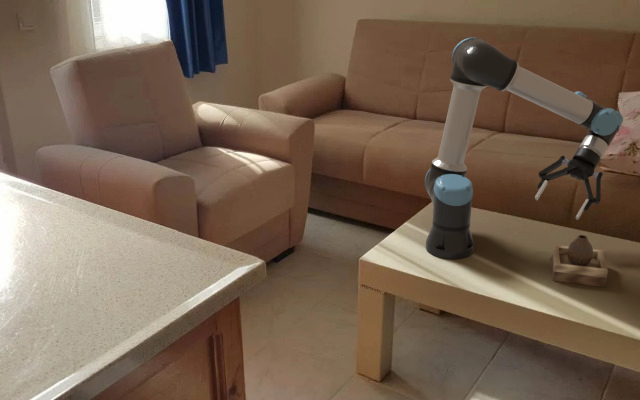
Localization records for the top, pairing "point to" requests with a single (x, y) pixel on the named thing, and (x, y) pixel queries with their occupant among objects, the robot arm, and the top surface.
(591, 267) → the square wooden tray
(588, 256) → the vase
